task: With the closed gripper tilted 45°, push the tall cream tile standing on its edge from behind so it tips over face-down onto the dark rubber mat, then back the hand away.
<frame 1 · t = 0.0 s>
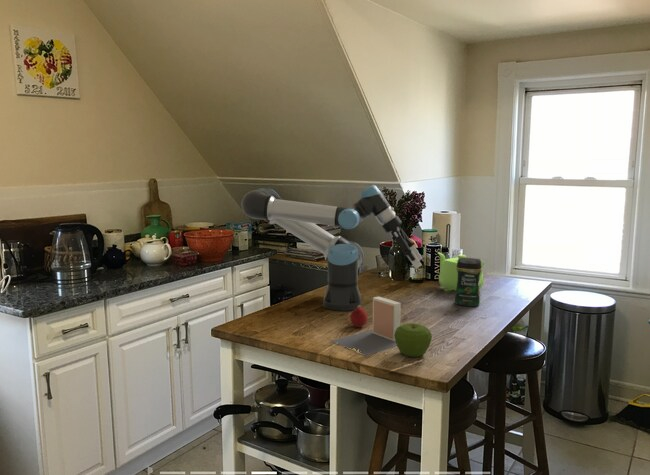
hand: (419, 263, 217), 15 cm above the kitchen island, tool tilted 35°, fingers open, 13 cm apart
red pomegranate: (358, 328, 185), on the kitchen island
mat: (375, 341, 172), on the kitchen island
teapot: (461, 290, 237), on the kitchen island
tile: (385, 336, 175), point 1 cm above the kitchen island, touching mat
apple: (412, 356, 160), on the kitchen island
coffee jar: (467, 304, 214), on the kitchen island
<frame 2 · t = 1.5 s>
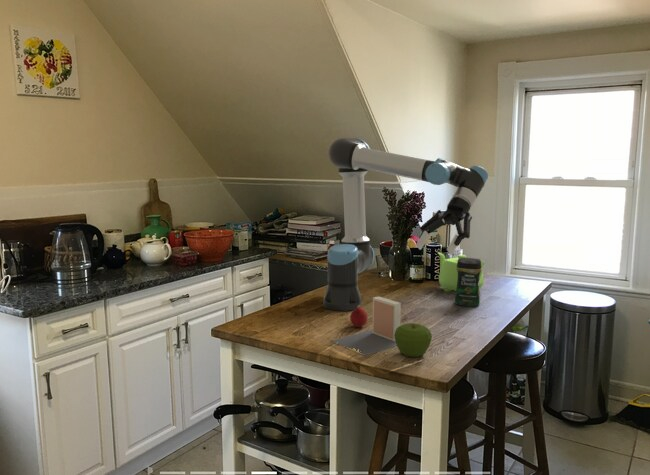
hand: (433, 249, 187), 26 cm above the kitchen island, tool tilted 45°, fingers open, 13 cm apart
nothing on the kitchen island moved.
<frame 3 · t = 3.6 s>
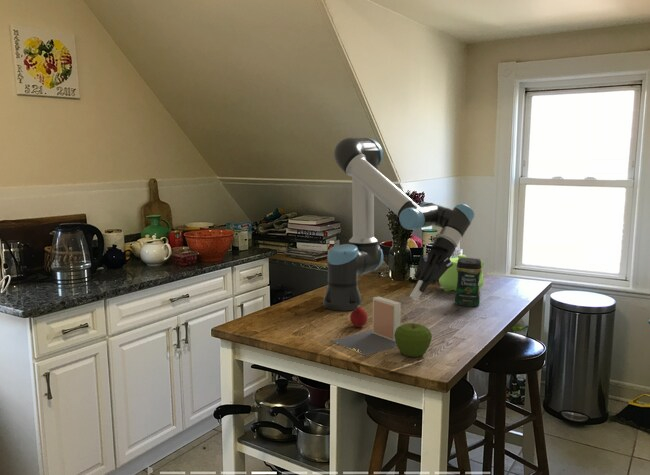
hand: (413, 298, 179), 12 cm above the kitchen island, tool tilted 45°, fingers closed
nothing on the kitchen island moved.
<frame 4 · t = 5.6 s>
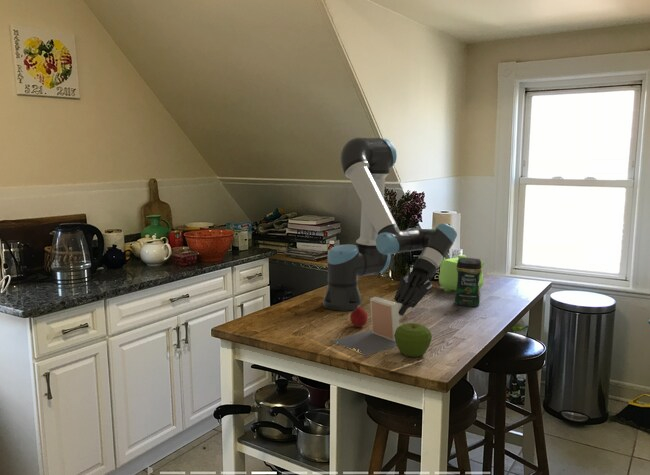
hand: (392, 321, 175), 5 cm above the kitchen island, tool tilted 45°, fingers closed
tile: (385, 335, 175), point 1 cm above the kitchen island, tilted 6°, touching mat
everything else where it was.
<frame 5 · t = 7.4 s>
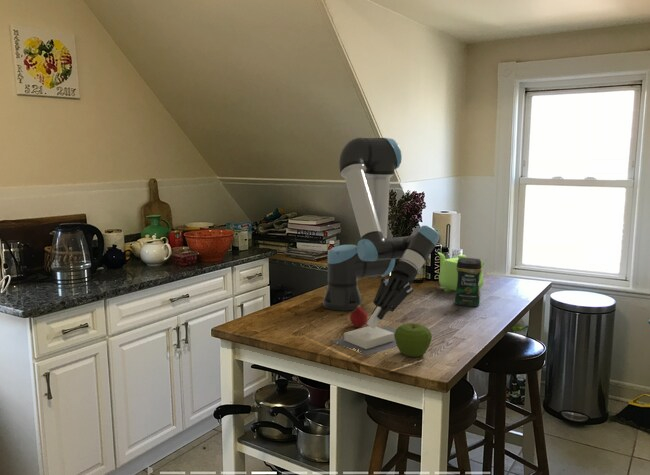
hand: (370, 325, 170), 6 cm above the kitchen island, tool tilted 45°, fingers closed
tile: (382, 332, 174), point 2 cm above the kitchen island, tilted 90°, touching mat
everything else where it was.
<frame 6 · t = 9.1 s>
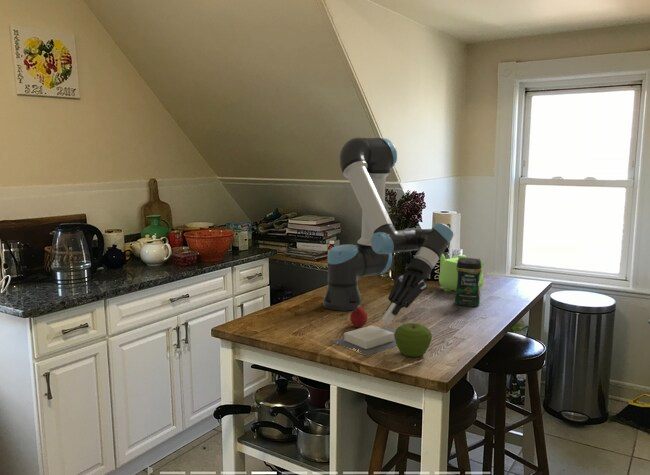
hand: (385, 321, 174), 6 cm above the kitchen island, tool tilted 45°, fingers closed
nothing on the kitchen island moved.
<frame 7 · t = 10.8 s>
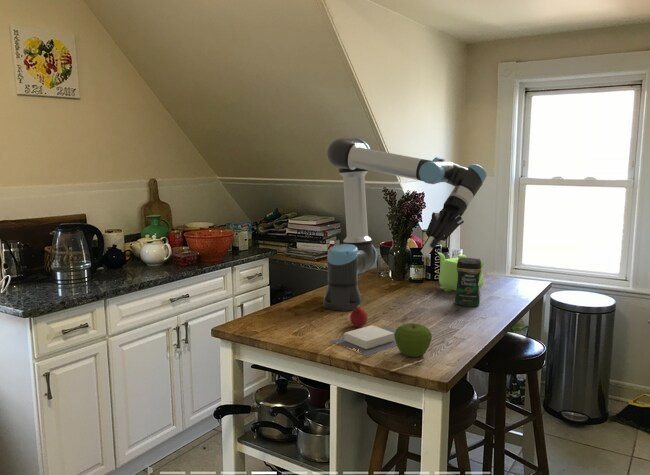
hand: (424, 253, 183), 25 cm above the kitchen island, tool tilted 45°, fingers closed
nothing on the kitchen island moved.
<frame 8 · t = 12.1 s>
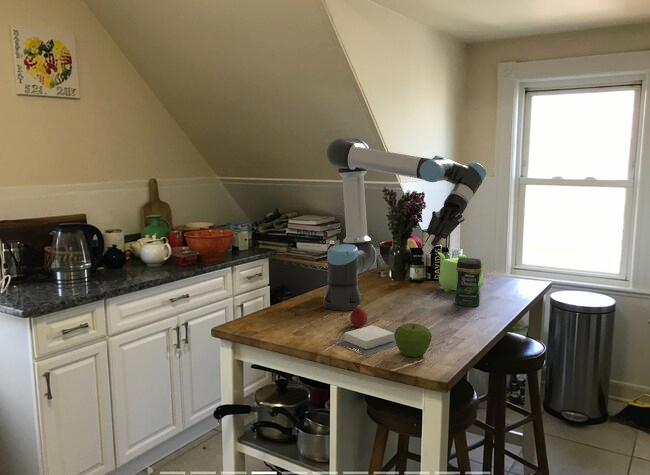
hand: (425, 251, 183), 26 cm above the kitchen island, tool tilted 45°, fingers closed
nothing on the kitchen island moved.
at the end: tile tilted 90°; tile inside the target area (0.4 cm from its centre), point 2.1 cm above the kitchen island; tile touching mat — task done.
